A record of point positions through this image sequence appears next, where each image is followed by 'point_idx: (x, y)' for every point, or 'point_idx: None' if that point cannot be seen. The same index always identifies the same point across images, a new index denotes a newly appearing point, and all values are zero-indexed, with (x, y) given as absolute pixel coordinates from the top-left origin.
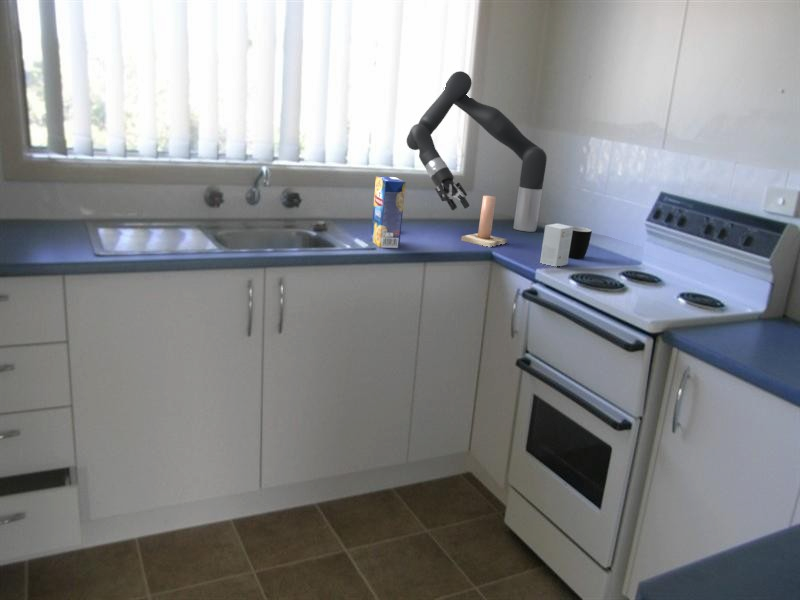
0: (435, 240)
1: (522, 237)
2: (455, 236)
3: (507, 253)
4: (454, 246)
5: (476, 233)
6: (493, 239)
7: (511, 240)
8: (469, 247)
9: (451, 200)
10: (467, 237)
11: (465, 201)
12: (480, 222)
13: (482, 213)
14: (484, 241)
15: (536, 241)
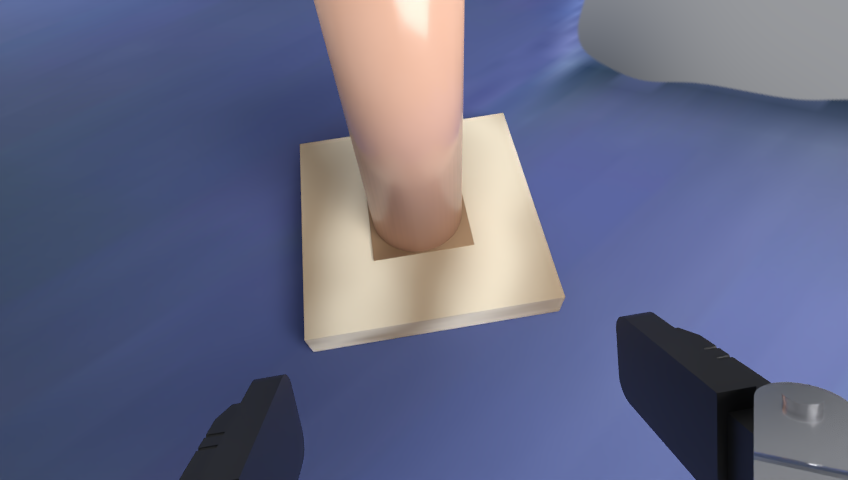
0: None
1: (9, 241)
2: (493, 444)
3: (505, 38)
4: (732, 206)
5: (345, 331)
6: None
7: (181, 206)
8: (636, 163)
9: (739, 387)
10: (545, 253)
11: (269, 432)
12: (460, 150)
13: (462, 75)
14: (509, 144)
15: (64, 148)
